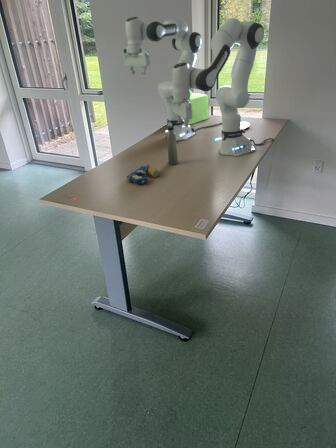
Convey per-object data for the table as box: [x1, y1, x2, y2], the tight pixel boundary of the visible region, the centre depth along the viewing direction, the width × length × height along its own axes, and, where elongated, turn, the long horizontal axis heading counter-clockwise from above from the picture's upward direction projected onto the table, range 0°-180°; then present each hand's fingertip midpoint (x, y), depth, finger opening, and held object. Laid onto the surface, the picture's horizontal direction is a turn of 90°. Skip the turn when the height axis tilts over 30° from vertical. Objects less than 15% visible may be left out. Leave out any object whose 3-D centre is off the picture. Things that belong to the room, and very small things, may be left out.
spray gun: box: [125, 164, 160, 185], centre depth 188 cm, size 21×4×15 cm
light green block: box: [184, 90, 209, 126], centre depth 283 cm, size 25×21×23 cm
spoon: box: [240, 120, 251, 130], centre depth 250 cm, size 35×11×2 cm, turn 159°
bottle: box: [166, 130, 179, 166], centre depth 199 cm, size 6×6×22 cm
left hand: (138, 74), depth 205 cm, fingers open, 8 cm apart
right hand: (182, 124), depth 180 cm, fingers open, 8 cm apart
